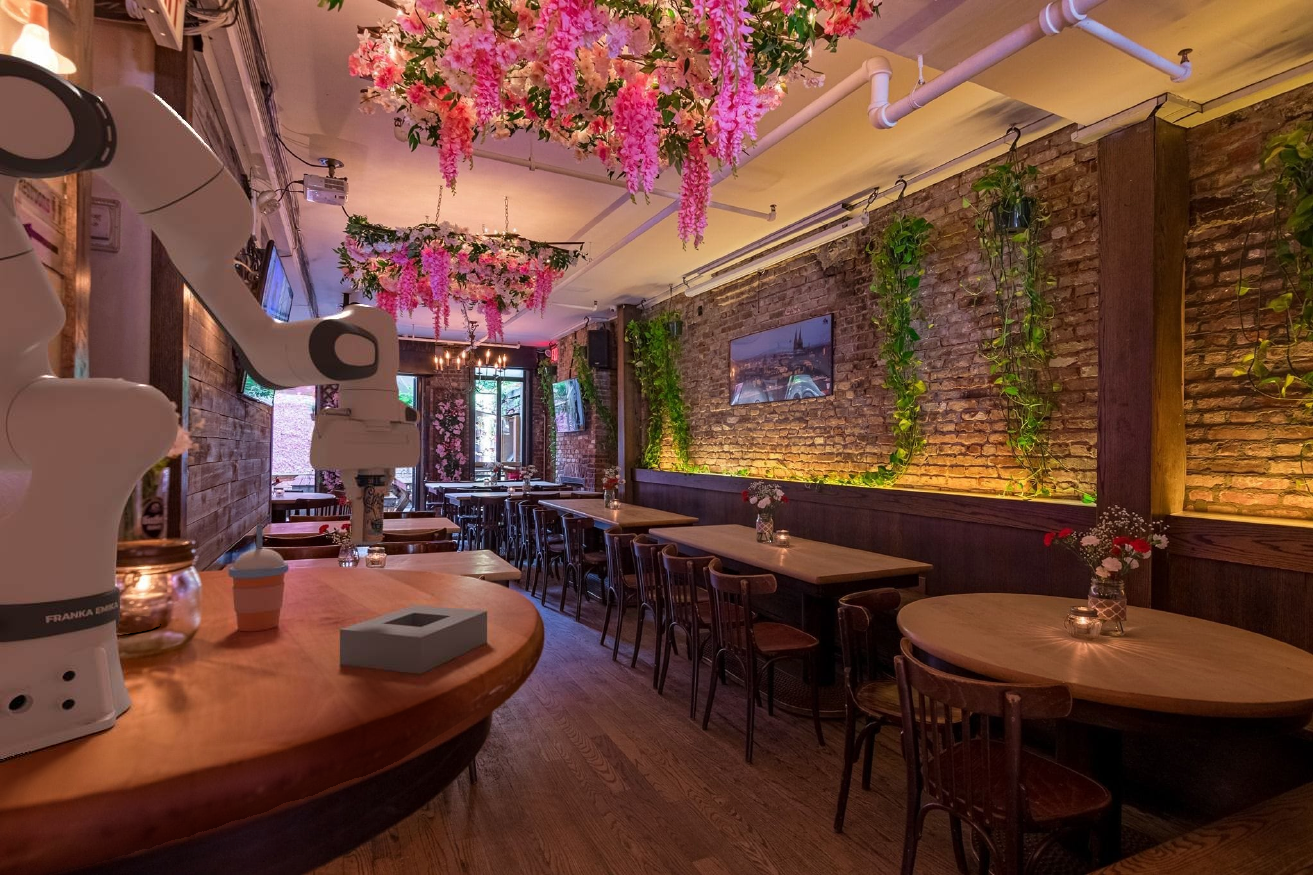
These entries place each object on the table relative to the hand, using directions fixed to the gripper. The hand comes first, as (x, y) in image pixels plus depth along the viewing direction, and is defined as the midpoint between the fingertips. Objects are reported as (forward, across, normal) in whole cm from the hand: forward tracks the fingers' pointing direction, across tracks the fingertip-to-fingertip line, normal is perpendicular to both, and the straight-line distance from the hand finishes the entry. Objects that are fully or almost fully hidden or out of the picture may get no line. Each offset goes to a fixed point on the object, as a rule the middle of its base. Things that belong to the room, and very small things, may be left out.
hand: (368, 498), depth 103 cm
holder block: (+23, 0, -10) cm, 25 cm away
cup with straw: (+24, +4, +27) cm, 36 cm away
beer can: (+7, 0, 0) cm, 7 cm away
